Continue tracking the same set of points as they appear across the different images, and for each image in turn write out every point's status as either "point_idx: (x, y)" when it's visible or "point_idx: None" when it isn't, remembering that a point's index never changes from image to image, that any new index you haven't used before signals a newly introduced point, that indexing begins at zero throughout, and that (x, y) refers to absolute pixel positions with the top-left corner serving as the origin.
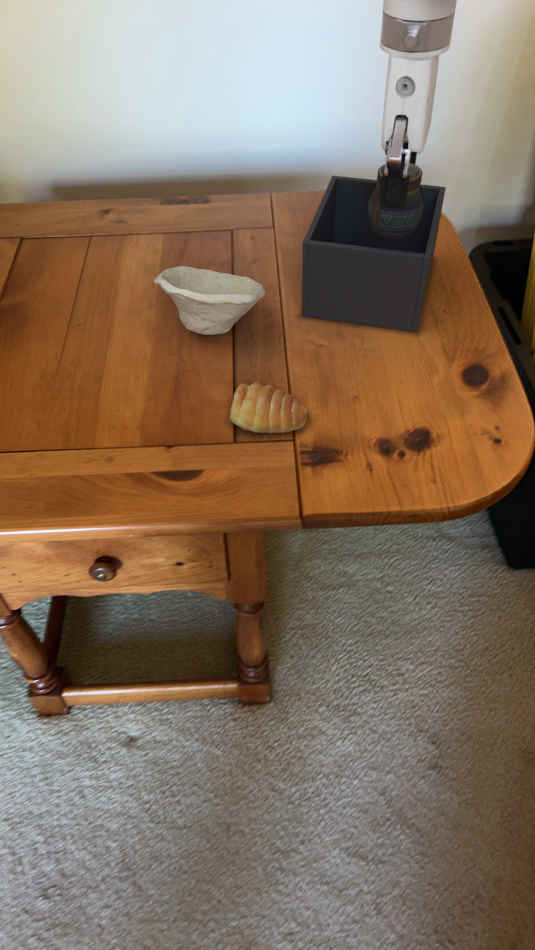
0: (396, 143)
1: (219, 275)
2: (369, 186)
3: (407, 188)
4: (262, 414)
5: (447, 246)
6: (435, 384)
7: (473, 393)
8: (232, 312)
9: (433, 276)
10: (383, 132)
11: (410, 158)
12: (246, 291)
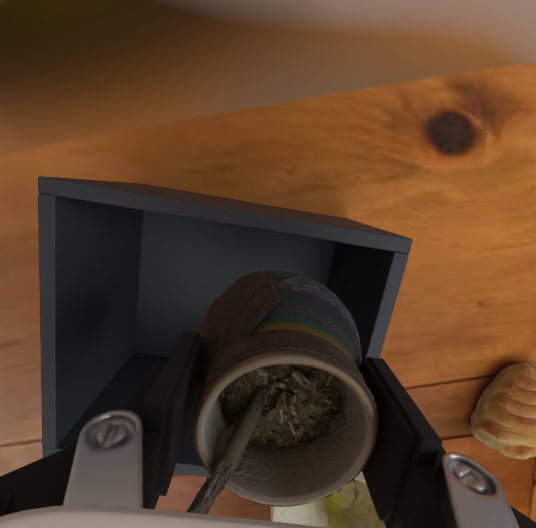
0: None
1: (278, 512)
2: (63, 369)
3: (413, 403)
4: None
5: (88, 152)
6: (465, 196)
7: (489, 140)
8: None
9: (191, 184)
10: None
11: (181, 405)
12: None
